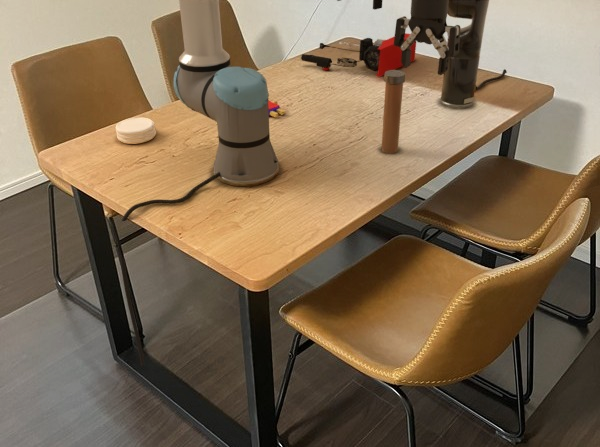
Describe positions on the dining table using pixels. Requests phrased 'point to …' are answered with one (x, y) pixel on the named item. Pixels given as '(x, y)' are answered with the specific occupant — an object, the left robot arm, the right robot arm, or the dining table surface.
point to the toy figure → (274, 109)
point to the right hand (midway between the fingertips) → (423, 70)
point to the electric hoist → (368, 55)
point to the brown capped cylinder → (391, 117)
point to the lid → (394, 77)
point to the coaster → (135, 130)
